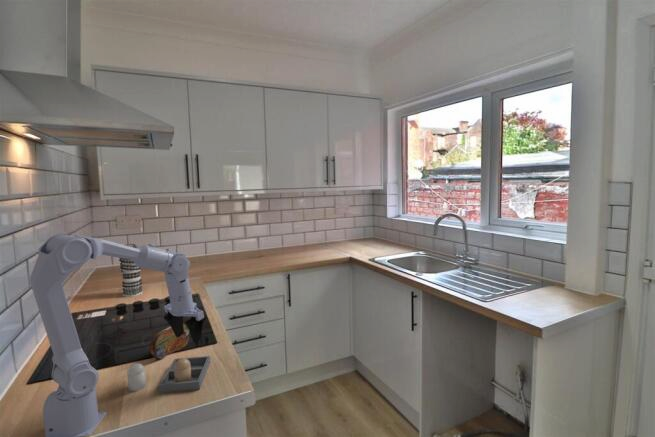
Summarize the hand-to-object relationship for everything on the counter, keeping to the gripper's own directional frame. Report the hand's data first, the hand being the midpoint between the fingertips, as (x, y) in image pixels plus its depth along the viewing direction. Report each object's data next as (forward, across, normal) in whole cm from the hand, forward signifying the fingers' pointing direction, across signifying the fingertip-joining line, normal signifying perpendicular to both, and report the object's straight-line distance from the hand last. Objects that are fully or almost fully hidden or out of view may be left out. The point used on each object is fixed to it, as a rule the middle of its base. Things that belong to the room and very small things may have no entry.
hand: (188, 338), depth 101 cm
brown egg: (+9, -3, +6) cm, 12 cm away
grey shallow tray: (+10, -1, +4) cm, 11 cm away
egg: (+9, +6, +13) cm, 17 cm away
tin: (+11, +16, -4) cm, 20 cm away
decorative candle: (+14, +87, -33) cm, 94 cm away
